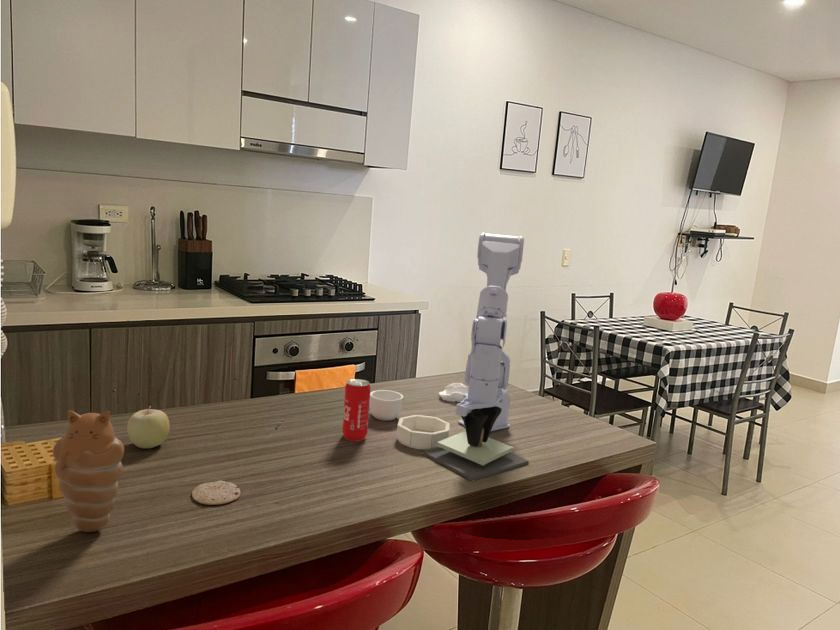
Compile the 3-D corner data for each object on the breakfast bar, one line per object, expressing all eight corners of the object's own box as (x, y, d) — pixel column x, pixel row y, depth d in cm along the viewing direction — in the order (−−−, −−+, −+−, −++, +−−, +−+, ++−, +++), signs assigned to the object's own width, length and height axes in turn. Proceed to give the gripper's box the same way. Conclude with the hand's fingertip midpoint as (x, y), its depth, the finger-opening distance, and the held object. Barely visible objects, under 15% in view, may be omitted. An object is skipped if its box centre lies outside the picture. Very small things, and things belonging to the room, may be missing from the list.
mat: (478, 440, 137) (479, 437, 137) (528, 463, 126) (528, 460, 126) (422, 454, 127) (423, 451, 127) (471, 481, 116) (472, 478, 116)
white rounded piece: (455, 390, 158) (431, 379, 165) (454, 407, 159) (429, 396, 166) (484, 385, 164) (459, 375, 171) (482, 401, 165) (457, 391, 172)
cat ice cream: (46, 546, 85) (43, 419, 82) (68, 517, 93) (66, 399, 89) (116, 545, 87) (116, 420, 83) (132, 516, 94) (132, 401, 91)
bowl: (425, 427, 142) (426, 412, 141) (458, 443, 134) (459, 428, 133) (387, 435, 135) (388, 420, 134) (419, 453, 127) (420, 437, 126)
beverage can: (362, 443, 130) (366, 387, 127) (338, 439, 131) (342, 383, 128) (369, 434, 135) (373, 380, 132) (346, 431, 136) (350, 377, 133)
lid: (468, 433, 134) (470, 413, 133) (512, 450, 127) (515, 430, 127) (436, 445, 125) (439, 425, 125) (482, 465, 119) (485, 444, 118)
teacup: (408, 418, 147) (410, 396, 146) (385, 425, 141) (387, 402, 140) (378, 407, 153) (379, 385, 152) (354, 413, 147) (356, 391, 146)
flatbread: (240, 505, 101) (240, 500, 100) (190, 508, 98) (190, 502, 98) (239, 483, 108) (240, 477, 108) (193, 485, 106) (193, 479, 106)
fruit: (176, 447, 120) (177, 407, 119) (137, 456, 115) (137, 414, 113) (158, 435, 125) (158, 396, 124) (120, 443, 120) (120, 402, 118)
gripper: (487, 366, 132) (480, 428, 134) (445, 378, 120) (439, 445, 123) (516, 374, 127) (509, 438, 130) (476, 387, 116) (469, 456, 118)
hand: (477, 442), depth 126 cm, fingers closed on lid, 3 cm apart
